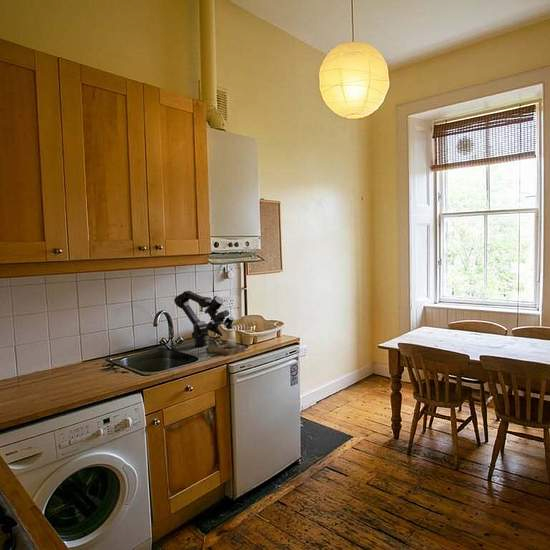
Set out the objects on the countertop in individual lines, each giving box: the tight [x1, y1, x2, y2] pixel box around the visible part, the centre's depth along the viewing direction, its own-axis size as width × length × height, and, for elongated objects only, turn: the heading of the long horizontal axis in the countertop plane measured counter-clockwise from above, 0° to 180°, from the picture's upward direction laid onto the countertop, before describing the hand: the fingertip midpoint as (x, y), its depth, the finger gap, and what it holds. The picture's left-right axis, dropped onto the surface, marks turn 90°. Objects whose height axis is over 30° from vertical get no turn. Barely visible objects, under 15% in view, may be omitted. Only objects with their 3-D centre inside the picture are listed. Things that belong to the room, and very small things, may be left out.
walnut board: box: [214, 343, 246, 356], centre depth 239 cm, size 13×13×3 cm
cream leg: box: [226, 328, 237, 348], centre depth 238 cm, size 5×5×13 cm
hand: (227, 334), depth 239 cm, fingers open, 9 cm apart
